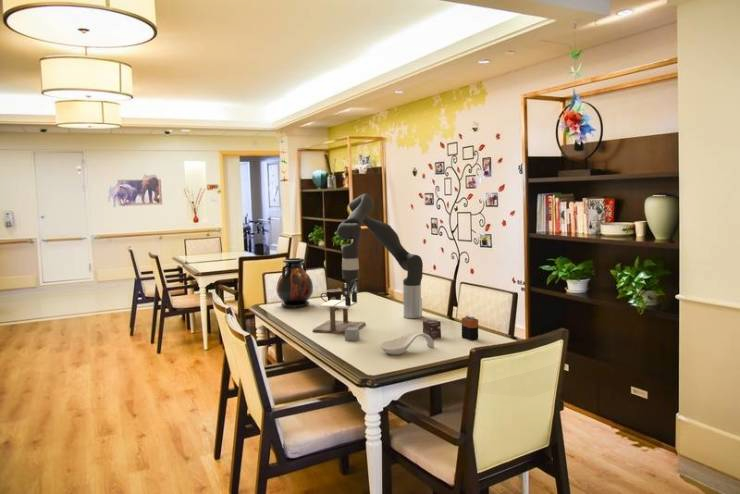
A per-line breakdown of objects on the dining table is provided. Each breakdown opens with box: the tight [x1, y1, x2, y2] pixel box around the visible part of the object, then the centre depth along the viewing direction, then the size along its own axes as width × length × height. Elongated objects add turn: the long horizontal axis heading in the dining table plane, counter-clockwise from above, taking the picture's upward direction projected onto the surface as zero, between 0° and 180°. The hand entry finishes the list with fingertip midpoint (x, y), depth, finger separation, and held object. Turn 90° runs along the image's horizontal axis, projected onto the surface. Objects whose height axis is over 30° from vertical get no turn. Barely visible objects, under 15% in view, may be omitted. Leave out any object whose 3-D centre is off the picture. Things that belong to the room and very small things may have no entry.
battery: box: [461, 315, 479, 342], centre depth 244 cm, size 4×7×10 cm, turn 31°
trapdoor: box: [319, 299, 358, 310], centre depth 267 cm, size 14×14×1 cm
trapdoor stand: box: [312, 298, 366, 335], centre depth 268 cm, size 20×20×13 cm
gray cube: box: [344, 327, 360, 342], centre depth 247 cm, size 5×5×5 cm
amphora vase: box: [276, 257, 314, 309], centre depth 324 cm, size 22×22×28 cm
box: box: [422, 319, 442, 340], centre depth 248 cm, size 6×6×7 cm
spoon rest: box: [380, 331, 435, 356], centre depth 227 cm, size 24×12×7 cm, turn 117°
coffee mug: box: [320, 288, 343, 310], centre depth 318 cm, size 12×9×10 cm
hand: (351, 303), depth 246 cm, fingers open, 8 cm apart
